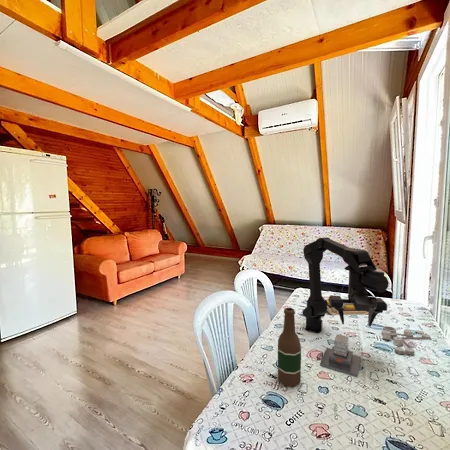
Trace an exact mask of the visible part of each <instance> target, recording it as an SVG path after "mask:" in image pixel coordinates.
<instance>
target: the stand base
mask: <svg viewBox="0 0 450 450" xmlns="http://www.w3.org/2000/svg"><path fill="white" fill-rule="evenodd" d="M361 361H362V356H360V355H355V354H354V351H352V350H349V349H348V357H347V358H344V357H340V356H337V355H334V345H332V347H331V348H329V347H326V349H325V351H324V353H323V356H322V358H321V360H320V362H319V366H320V367H323V368H326V369H329V370H332V371H335V372H339V373H342V374H345V375H348V376H351V377H355V378H358V376H359V372H360V371H359V370H360V365H361Z"/></svg>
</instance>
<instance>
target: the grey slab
mask: <svg viewBox="0 0 450 450" xmlns="http://www.w3.org/2000/svg"><path fill="white" fill-rule="evenodd" d="M333 344H334V345H333V346H334V355H337V356H340V357H344V358H347V357H348V350H349V336H346V335H342V334H338V333H336V335H335V338H334V340H333Z"/></svg>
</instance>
